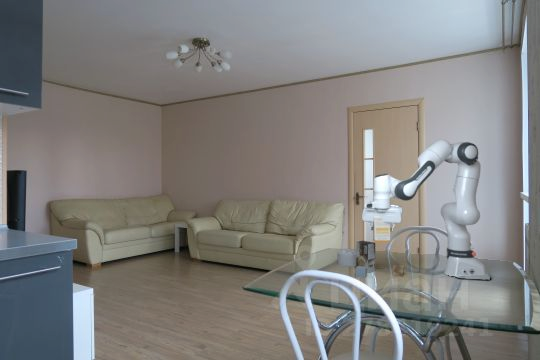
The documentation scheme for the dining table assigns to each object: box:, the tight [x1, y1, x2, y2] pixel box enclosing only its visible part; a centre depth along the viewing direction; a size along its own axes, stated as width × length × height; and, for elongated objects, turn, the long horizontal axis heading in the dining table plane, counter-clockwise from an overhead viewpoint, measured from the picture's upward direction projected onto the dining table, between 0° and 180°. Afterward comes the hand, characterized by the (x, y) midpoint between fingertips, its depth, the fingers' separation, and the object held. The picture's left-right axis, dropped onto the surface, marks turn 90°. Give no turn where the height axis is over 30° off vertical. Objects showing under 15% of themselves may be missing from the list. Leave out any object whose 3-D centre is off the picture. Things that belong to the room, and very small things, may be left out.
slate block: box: [355, 266, 368, 279], centre depth 203 cm, size 5×5×5 cm
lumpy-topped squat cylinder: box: [337, 248, 356, 267], centre depth 230 cm, size 10×13×9 cm
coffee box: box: [355, 240, 376, 273], centre depth 216 cm, size 9×6×16 cm
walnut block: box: [392, 264, 405, 278], centre depth 206 cm, size 5×5×5 cm
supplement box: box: [372, 217, 391, 243], centre depth 200 cm, size 8×5×13 cm, turn 82°
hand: (381, 230), depth 200 cm, fingers closed on supplement box, 8 cm apart
